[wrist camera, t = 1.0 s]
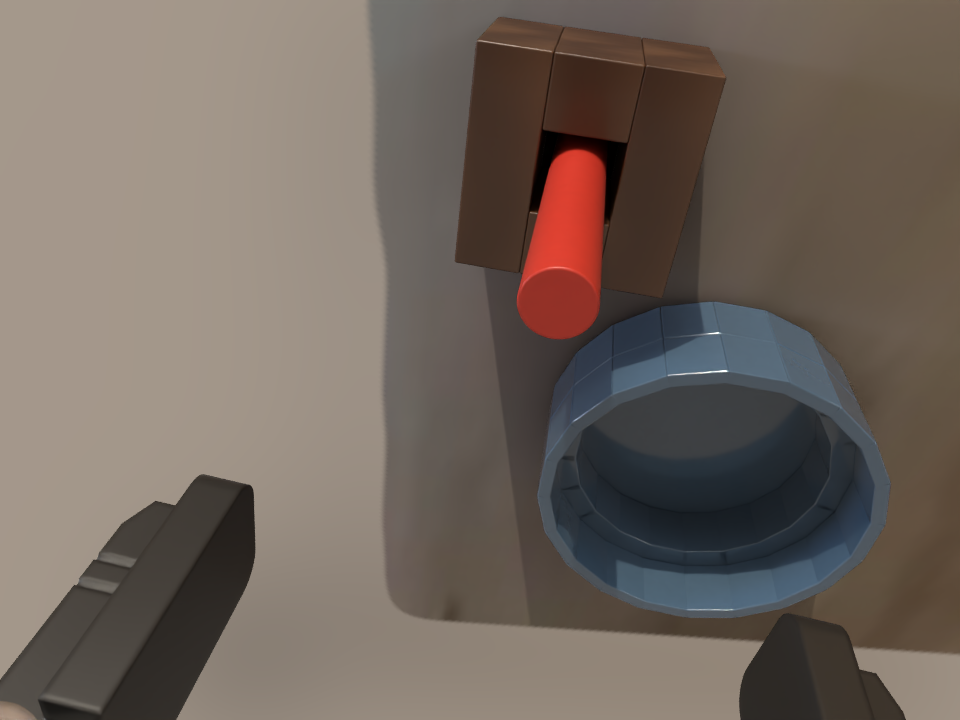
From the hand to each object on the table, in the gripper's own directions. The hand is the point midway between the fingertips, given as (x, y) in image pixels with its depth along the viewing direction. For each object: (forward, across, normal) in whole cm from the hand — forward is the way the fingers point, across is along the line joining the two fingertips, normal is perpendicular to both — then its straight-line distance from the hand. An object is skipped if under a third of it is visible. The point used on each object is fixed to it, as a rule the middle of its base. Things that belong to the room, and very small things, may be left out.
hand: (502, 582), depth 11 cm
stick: (+22, 0, 0) cm, 22 cm away
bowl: (+22, -9, +12) cm, 27 cm away
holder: (+22, 0, 0) cm, 22 cm away
